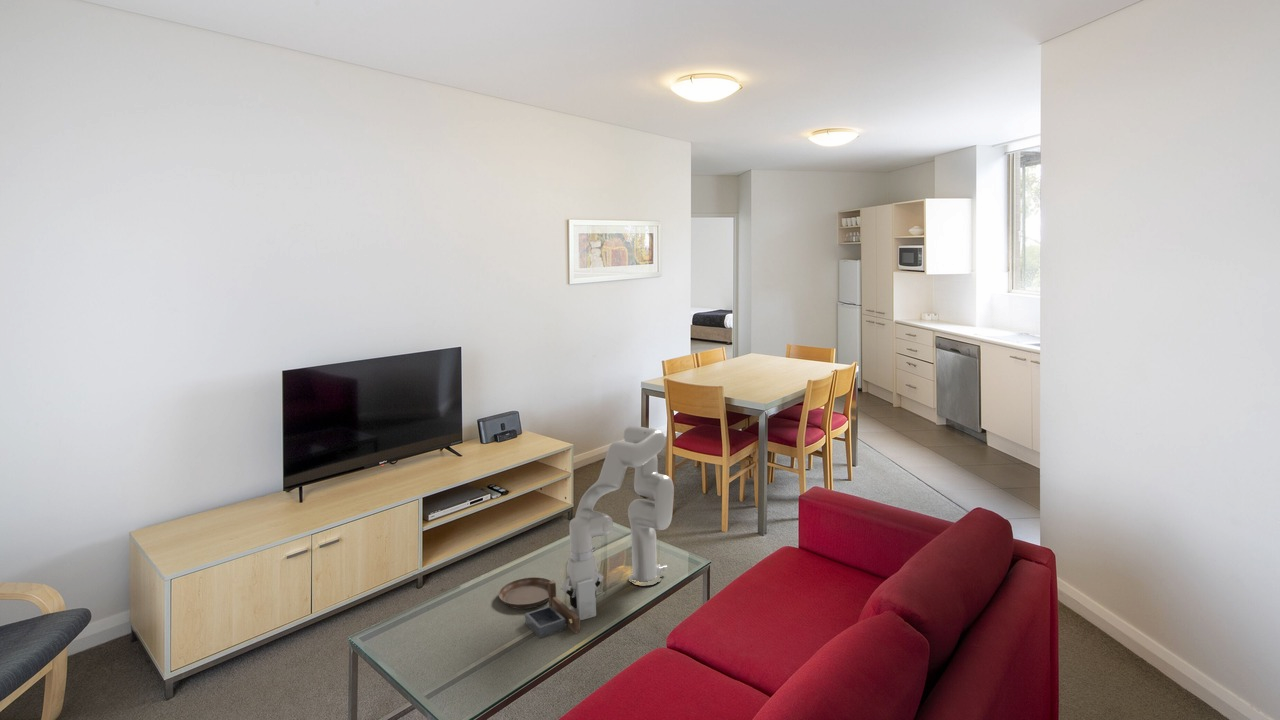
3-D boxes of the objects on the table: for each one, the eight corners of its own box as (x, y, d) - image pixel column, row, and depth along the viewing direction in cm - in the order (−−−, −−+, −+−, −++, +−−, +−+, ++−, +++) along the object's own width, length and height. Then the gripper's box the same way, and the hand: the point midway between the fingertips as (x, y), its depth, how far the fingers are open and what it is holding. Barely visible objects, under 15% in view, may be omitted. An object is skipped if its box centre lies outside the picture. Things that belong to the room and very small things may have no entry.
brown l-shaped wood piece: (554, 607, 226) (553, 580, 225) (580, 631, 209) (579, 602, 208) (546, 609, 224) (545, 582, 223) (572, 634, 207) (571, 605, 206)
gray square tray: (551, 615, 220) (550, 605, 220) (566, 629, 211) (565, 619, 210) (525, 623, 215) (524, 613, 215) (539, 638, 206) (539, 628, 205)
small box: (596, 616, 219) (595, 580, 217) (579, 621, 216) (577, 584, 215) (588, 606, 226) (586, 571, 225) (571, 610, 223) (569, 575, 222)
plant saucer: (500, 616, 221) (500, 607, 221) (497, 590, 241) (497, 581, 241) (560, 607, 227) (559, 598, 226) (552, 582, 246) (551, 573, 246)
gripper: (598, 544, 226) (599, 592, 228) (553, 556, 217) (555, 606, 219) (608, 551, 220) (610, 600, 222) (563, 564, 211) (565, 615, 213)
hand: (583, 603), depth 220 cm, fingers closed on small box, 6 cm apart
